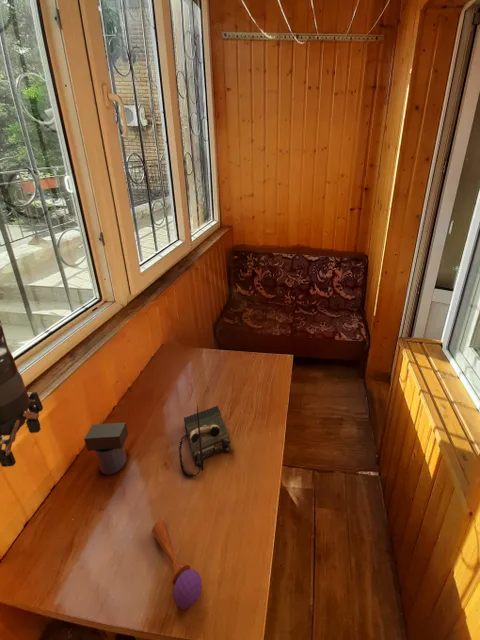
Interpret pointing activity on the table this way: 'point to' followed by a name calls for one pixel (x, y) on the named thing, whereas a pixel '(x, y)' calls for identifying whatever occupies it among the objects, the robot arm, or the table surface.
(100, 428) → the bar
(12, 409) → the robot arm
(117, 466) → the cup
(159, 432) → the table surface
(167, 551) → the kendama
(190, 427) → the radio
